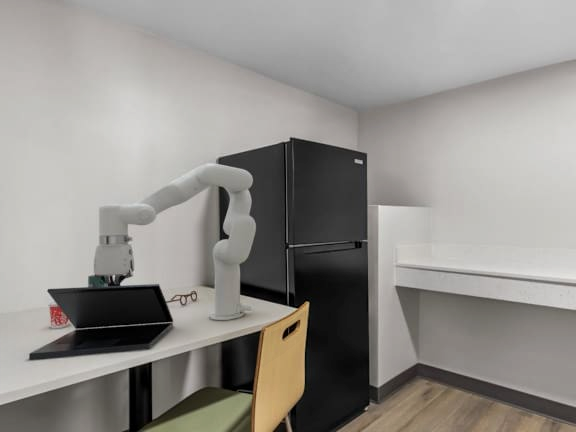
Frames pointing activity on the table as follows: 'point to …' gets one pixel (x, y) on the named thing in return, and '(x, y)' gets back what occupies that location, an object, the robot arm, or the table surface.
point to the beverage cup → (57, 316)
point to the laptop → (103, 340)
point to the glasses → (185, 298)
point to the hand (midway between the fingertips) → (114, 295)
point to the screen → (112, 305)
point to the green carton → (95, 282)
